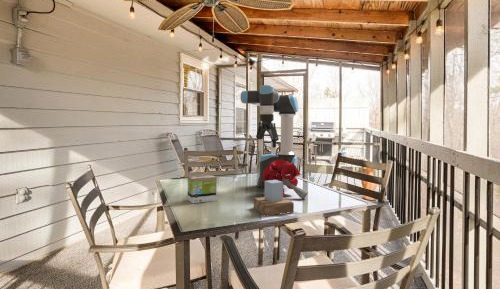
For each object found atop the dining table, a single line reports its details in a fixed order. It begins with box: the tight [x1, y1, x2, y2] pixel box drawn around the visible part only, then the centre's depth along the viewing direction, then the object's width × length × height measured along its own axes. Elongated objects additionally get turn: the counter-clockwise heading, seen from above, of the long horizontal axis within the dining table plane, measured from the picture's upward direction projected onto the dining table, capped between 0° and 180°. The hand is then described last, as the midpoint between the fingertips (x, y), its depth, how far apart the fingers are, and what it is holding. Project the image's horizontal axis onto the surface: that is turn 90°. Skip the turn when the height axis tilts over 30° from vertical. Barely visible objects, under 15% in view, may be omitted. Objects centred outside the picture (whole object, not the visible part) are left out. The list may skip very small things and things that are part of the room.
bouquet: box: [262, 160, 309, 200], centre depth 196 cm, size 22×24×30 cm
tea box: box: [187, 174, 217, 204], centre depth 187 cm, size 15×10×15 cm, turn 117°
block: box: [264, 180, 284, 202], centre depth 167 cm, size 7×7×10 cm
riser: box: [253, 196, 295, 217], centre depth 168 cm, size 16×16×6 cm
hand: (266, 152), depth 175 cm, fingers open, 13 cm apart
